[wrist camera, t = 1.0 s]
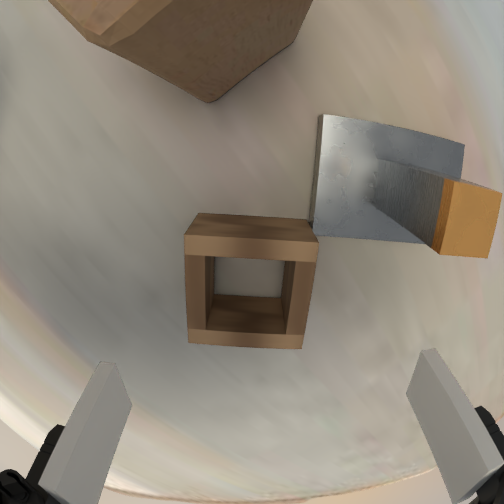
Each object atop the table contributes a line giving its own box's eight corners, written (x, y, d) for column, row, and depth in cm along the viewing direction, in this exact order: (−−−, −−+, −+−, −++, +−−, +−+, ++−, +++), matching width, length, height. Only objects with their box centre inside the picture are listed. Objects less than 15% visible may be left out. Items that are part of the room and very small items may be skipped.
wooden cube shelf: (199, 306, 31) (188, 342, 25) (198, 213, 27) (184, 234, 22) (294, 311, 31) (301, 349, 25) (306, 219, 27) (319, 242, 22)
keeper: (308, 227, 28) (346, 302, 16) (318, 115, 24) (375, 101, 12) (437, 239, 28) (516, 300, 16) (453, 142, 24) (550, 162, 12)
